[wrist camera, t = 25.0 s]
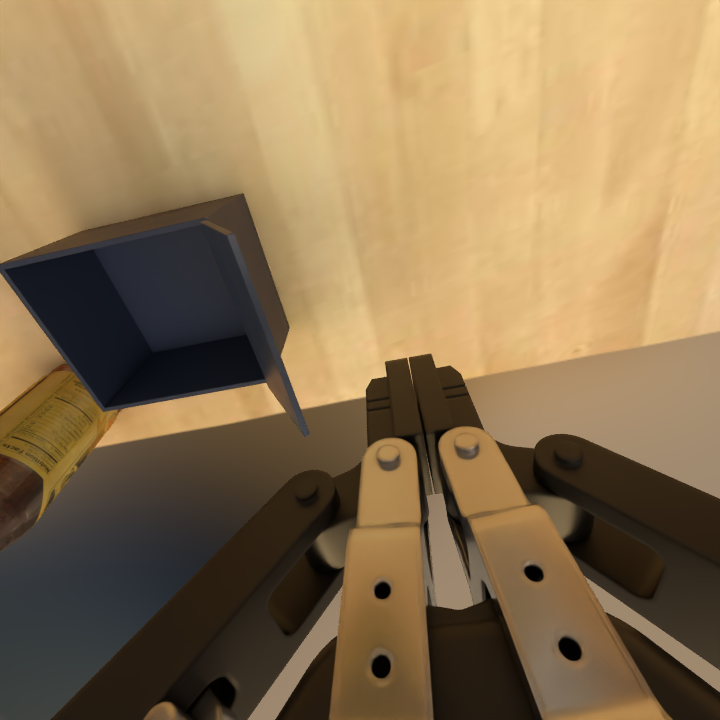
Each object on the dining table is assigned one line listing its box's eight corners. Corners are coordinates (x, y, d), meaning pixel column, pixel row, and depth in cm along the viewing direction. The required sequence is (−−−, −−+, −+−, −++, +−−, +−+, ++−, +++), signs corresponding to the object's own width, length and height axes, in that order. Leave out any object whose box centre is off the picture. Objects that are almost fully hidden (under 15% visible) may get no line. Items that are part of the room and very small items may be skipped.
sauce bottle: (81, 423, 35) (-176, 706, 18) (33, 368, 32) (-336, 650, 15) (145, 408, 34) (-62, 690, 17) (102, 350, 31) (-204, 627, 14)
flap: (226, 235, 13) (234, 232, 14) (199, 221, 18) (205, 220, 18) (304, 437, 19) (310, 434, 19) (268, 387, 23) (273, 385, 23)
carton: (81, 231, 26) (-6, 265, 20) (243, 193, 25) (205, 217, 18) (153, 354, 31) (102, 412, 25) (289, 327, 30) (272, 381, 24)
